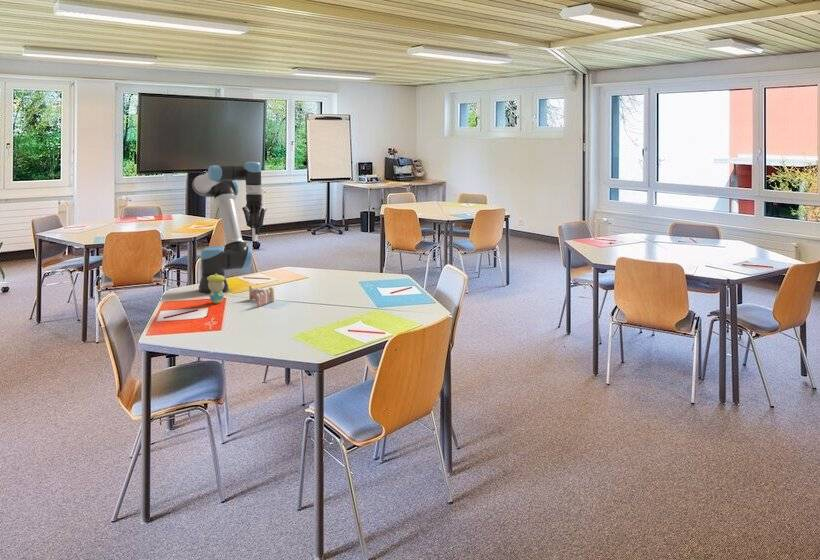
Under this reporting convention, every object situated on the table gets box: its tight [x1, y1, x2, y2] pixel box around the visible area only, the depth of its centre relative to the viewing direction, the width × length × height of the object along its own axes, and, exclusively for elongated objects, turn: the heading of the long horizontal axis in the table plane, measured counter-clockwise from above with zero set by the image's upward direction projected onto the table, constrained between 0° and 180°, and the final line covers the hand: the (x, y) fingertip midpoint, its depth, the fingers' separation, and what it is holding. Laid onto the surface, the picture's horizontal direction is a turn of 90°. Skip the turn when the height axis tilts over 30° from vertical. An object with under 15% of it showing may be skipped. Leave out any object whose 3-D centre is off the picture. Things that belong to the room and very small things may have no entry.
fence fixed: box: [248, 285, 275, 303], centre depth 332 cm, size 14×2×8 cm, turn 70°
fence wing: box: [256, 290, 271, 307], centre depth 324 cm, size 10×1×6 cm, turn 158°
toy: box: [207, 274, 226, 305], centre depth 325 cm, size 8×9×15 cm
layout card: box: [242, 299, 293, 310], centre depth 327 cm, size 20×14×1 cm
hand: (255, 240), depth 333 cm, fingers closed
